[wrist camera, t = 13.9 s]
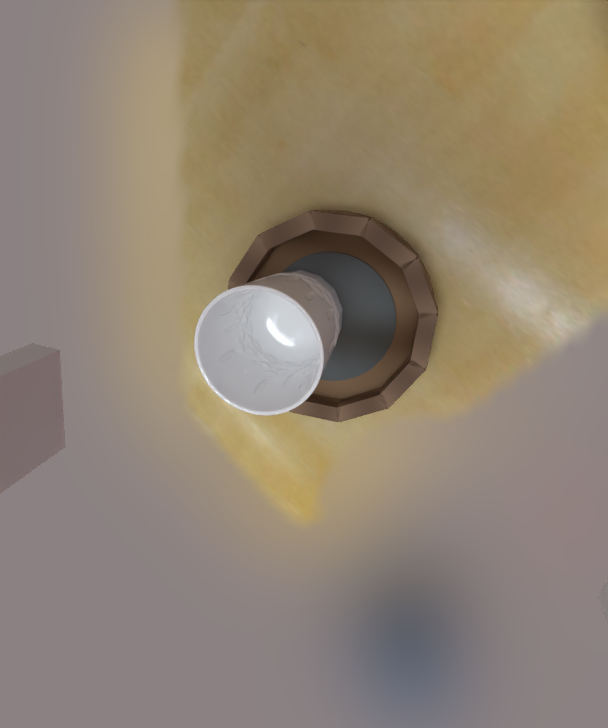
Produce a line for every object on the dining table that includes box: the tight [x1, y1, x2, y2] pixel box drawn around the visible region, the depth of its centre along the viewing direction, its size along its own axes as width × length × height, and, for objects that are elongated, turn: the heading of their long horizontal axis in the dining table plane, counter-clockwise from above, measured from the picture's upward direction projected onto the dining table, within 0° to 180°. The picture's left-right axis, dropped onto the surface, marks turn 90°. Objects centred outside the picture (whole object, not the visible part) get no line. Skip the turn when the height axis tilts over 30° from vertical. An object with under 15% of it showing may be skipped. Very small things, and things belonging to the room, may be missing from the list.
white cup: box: [194, 270, 343, 415], centre depth 32 cm, size 8×8×10 cm
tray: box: [228, 210, 438, 422], centre depth 37 cm, size 16×16×3 cm
